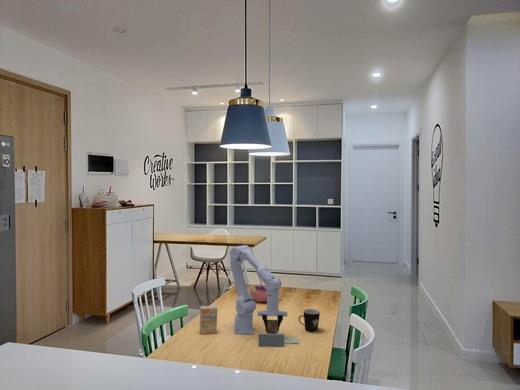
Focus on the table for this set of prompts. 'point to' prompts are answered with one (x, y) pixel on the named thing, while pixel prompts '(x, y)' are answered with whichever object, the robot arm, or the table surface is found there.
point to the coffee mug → (311, 319)
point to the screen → (271, 340)
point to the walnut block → (272, 327)
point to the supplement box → (208, 319)
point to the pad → (291, 340)
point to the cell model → (258, 293)
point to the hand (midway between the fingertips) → (272, 330)
